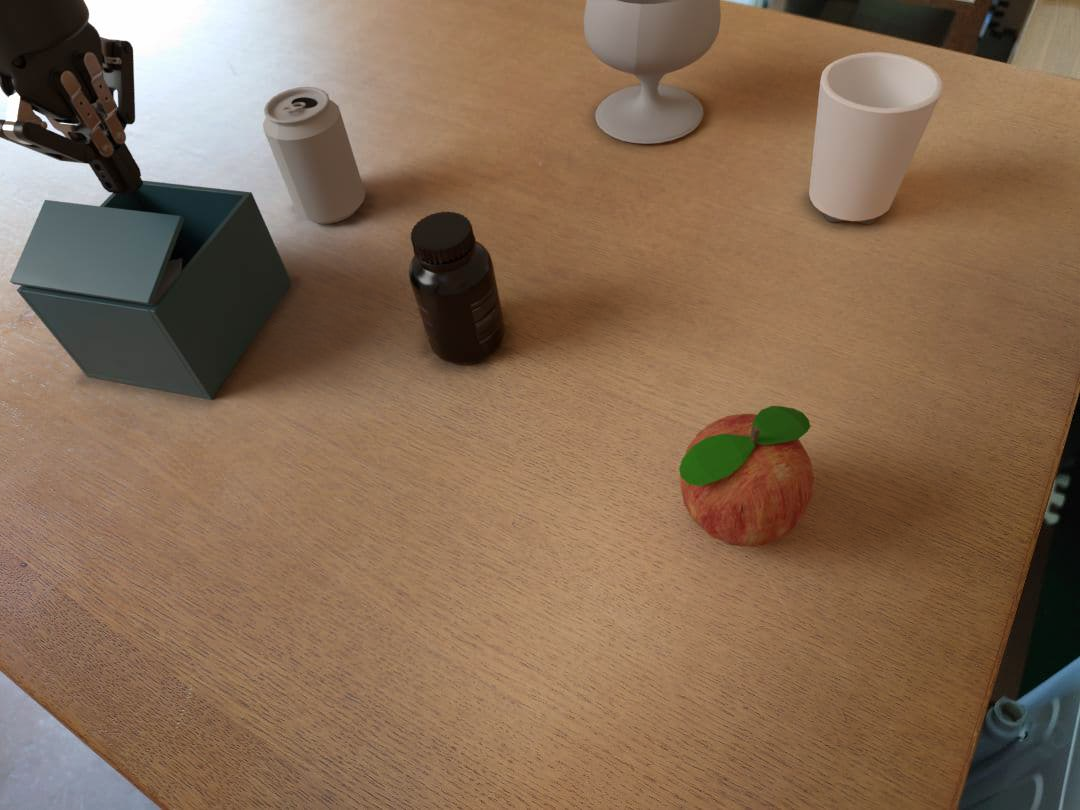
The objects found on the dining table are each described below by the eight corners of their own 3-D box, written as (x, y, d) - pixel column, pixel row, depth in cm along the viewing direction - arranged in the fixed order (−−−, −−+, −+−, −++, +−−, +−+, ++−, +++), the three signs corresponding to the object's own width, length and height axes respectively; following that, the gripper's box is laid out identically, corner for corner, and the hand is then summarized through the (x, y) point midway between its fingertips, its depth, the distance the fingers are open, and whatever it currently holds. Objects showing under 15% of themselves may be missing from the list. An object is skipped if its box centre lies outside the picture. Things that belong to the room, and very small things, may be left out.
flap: (152, 305, 58) (147, 302, 58) (14, 284, 61) (9, 281, 61) (184, 219, 60) (180, 215, 59) (49, 202, 63) (44, 199, 62)
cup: (906, 240, 72) (950, 113, 62) (795, 233, 74) (821, 109, 64) (897, 176, 78) (937, 51, 68) (795, 171, 80) (819, 50, 70)
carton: (211, 399, 66) (154, 311, 58) (87, 377, 70) (15, 290, 61) (292, 282, 75) (251, 192, 67) (178, 267, 78) (126, 178, 70)
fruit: (829, 541, 53) (864, 457, 46) (703, 589, 52) (717, 511, 44) (765, 447, 59) (786, 358, 51) (649, 488, 57) (652, 403, 49)
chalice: (695, 159, 82) (707, 15, 71) (571, 143, 86) (562, 4, 75) (723, 91, 90) (737, -48, 79) (607, 79, 94) (605, -55, 83)
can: (381, 193, 83) (350, 88, 74) (339, 235, 79) (301, 129, 70) (326, 179, 86) (290, 75, 77) (283, 219, 82) (239, 114, 73)
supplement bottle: (491, 302, 71) (471, 192, 62) (516, 352, 67) (498, 242, 58) (420, 325, 70) (388, 217, 61) (440, 377, 66) (410, 269, 57)
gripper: (-36, 10, 44) (119, 248, 58) (104, -83, 52) (212, 146, 65) (-135, 5, 46) (37, 237, 59) (14, -84, 54) (137, 139, 67)
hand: (129, 189), depth 62 cm, fingers closed
